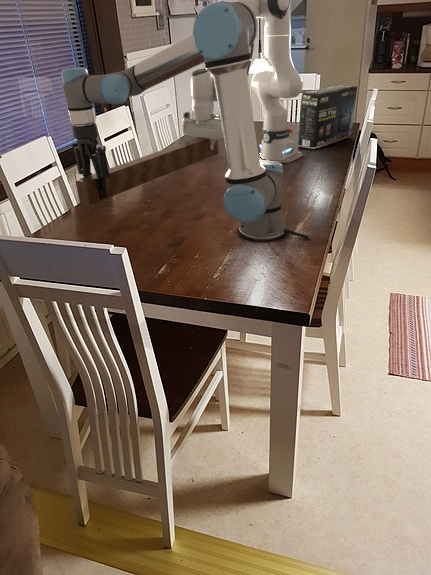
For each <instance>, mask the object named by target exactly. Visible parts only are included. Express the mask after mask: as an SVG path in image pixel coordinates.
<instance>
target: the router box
mask: <svg viewBox="0 0 431 575" xmlns="http://www.w3.org/2000/svg"><path fill="white" fill-rule="evenodd" d="M357 93H358V86H356V85H350V84H339V85H338V84H337V85H334V86H328V87H324V88H318V89H314V90H309V91H304V92H300V109H299V110H300V111H299V124H298V137H297V144H298V145H302V146H307V147H317V146H320V145H323V144H325V143H328V142H331V141H333V140H336V139H338V138H341V137H344V136H347V135H351V136H352V133H353V132H352V131H353V125H354V115H355V109H356V99H357ZM311 151H313V150H312V149H311Z"/></svg>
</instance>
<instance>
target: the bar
mask: <svg viewBox="0 0 431 575" xmlns="http://www.w3.org/2000/svg"><path fill="white" fill-rule="evenodd" d="M180 143H181V142H180ZM210 144H211V142H210V139H206V138H196V139H194V138H193V139H191V140H187V141H185V142H182V143H181V144H179V145H176V144H175V145H176V146H175V145H173V146H170V147H167V148H165V149H162V150H158V151H156V152H154V153H150V154H147V155H144V156H141V157H137V158H136V159H133V160H130V161H129V160H128V161H127V162H123V163H121V164H118V165H115V166H112V167H108V171H109V177H107V178H105V182H106V191H107V198H105V199H102V200H100V198H99V192H98V187H97V182H96V179H98V178H97V175H96V172H95V173H93V174H92V175H89V176H86V177H83V176H82V177H81V178H78V179H75V180H74V182H75V187H76V191H77V192H76V193H77V196H78V201H79V202H78V203H79V204H81V205H86V206H92V205H94V204H97V203H99V202H101V201H104V200H107V199H109V198H111V197H114V196H116V195H119V194H122V193H124V192H126V191H130V190H132V189H134V188H136V187H140V186H141V185H143V184H146V183H149V182H152V181H154V180H156V179H160V178H161V177H164V176H166V175H168V174H171V173H174V172H176V171H178V170H181V169H184V168H186V167H188V166H190V165H193V164H196V163H198V162H200V161H203V160H206V159H208V158H211V157H213V156H216V155H218V154H219V140H216V141H215V144H214V149H213V150H209V147H208V145H210ZM100 176H101V175H100Z"/></svg>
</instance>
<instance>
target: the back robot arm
mask: <svg viewBox="0 0 431 575" xmlns="http://www.w3.org/2000/svg"><path fill="white" fill-rule="evenodd" d="M233 2H240V3H243V4H245V5H247V6H248V7H249V8H250V9H251V10H252V11H253V12H254V14H255V16H256V19H257V20H258V19H264V33H263V34H264V36H263V37H264V38H263V39H264V42H263V44H264V45H263V49H264V50H263V52H264V57H265V59H266V60H267V61H269V63H270V65H271V67H272V69H263V70H259V71H256V72H255V73H254V74H253V76H252V78H251V84H250V85H251V89H252V91H253V92H254V94H255V95H256V97H257V98H258V99H259V102H260V105H261V108H262V125H263V126H262V131H261V137H262V139H261V144H259V148H260V153H259V154H260V155H259V154H258V155H259V160H262V159H266V160H284V159H285V158H287V157H289V156H291V155H293V154H295V153H297V152H298V153H302V152H301V151H299V147H298V141H297V142H296V140H294V139H293V138H292V137H291V136H290V134H292V133H293V132H294V129H293V127H292V128H290V127H289V128H288V110H287V108H286V107H285V106H284V105H283V104H282V102H281V99H294V98H297V97H299V95H301V93H302V90H303V88H304V87H303V86H304V82H303V78H302V76H301V74H299V72H298V71H297V69H296V67H295V66H294V63H293V60H292V56H291V53H292V52H291V32H292V31H291V16H290V11H289V10H290V8H289V7H290V3H291V0H234V1H233ZM254 48H255V41H254V42H253V44H252V45H251V46H250V53H251V61H250V63H249V65H248V66H247V69H246V70H247V77H248V78H249V74H250V68H251V65H252V59H253V55H254V54H253V53H254ZM189 84H190V96H191V97H190V98H191V102H192V103H191V109H189V110H187V111H184V112H183V113H182V114H181V116H182V133H183V135H184V136H185V137H190V138H191V137H192V138H193V139H196V138H206V139H210V142H211V144H210V145H208V147H209V150H213V149H214V144H215V141H216V140H218V141H224V136H223V131H222V125H221V119H220V115H217V114H215V104H214V103H218V101H217V96H216V90H215V84H214V78H213V75H212V74H211V73H210V72H208V71H207V70H206V68H205V67H204V68H199V69H196V70H194V71H193V72H192V73H191V76H190V83H189ZM303 156H304V153H303V154H302V155H300V156H298V157H296V158H294V159H292V160H290V159H287V160H290V161H276V162H279V163H285V164H287V163H291V162H293V161H295V160H297V159H299V158H301V157H303ZM260 157H261V158H262V159H261V158H260Z"/></svg>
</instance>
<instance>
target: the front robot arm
mask: <svg viewBox="0 0 431 575" xmlns="http://www.w3.org/2000/svg"><path fill="white" fill-rule="evenodd" d="M258 24H259V23H258V18H257V19H256V16H255V14H254V12H253V11H252V10H251V9H250V8H249V7H248V6H247V5H245V4H243V3H240V2H234V1H224V0H221V1H216V2H212V3H210V4H209V3H208V5H206V6H204V7H203V8H202V9H201V10H200V11H199V12H198V14H197V15H196V17H195V19H194V22H193V26H192V35H190V36H188V37H186V38H184V39H182V40H180V41H178V42H176V43H175V44H172V45H171V46H169V47H167V48H165V49H163V50H161V51H159V52H157V53H155V54H154V55H152V56H151V55H150V57H147V58H146V59H143V60H142V61H139V62H138V63H135V64H134V65H132V66H130V67H128V68H126V69H123V70H121V71H116V72H112V73H111V72H110V73H105V74H94V75H92V74H89V72H88V69H87V68H86V67H82V66H78V67H77V66H76V67H75V66H74V67H68V68H63V69H62V70H61V80H62V87H63V91H64V95H65V100H66V105H67V109H68V110H67V111H68V117H69V121H70V124H71V125H72V126H71V129H72V130H71V131H72V135H73V138H74V139H76V142H73V143H71V147H72V149H73V152H74V157H75V161H76V167H77V171H78V174H79V175H81V176H82V178H83V177H86V176H89V175H92V174H94V173H92V168H91V167H92V166H93V170H94V172H95V173H96V175H97V178H98V179H96V182H97V187H98V192H99V198H100V200H102V199H104V200H106V199H105V198H107V191H106V182H105V178H107V177H109V171H108V169H109V166H108V159H107V154H106V153H107V152H106V151H107V146H106V145H101V144H100V143H99V140H98V136H99V129H98V124H97V123H96V122H97V118H96V112H95V107H94V106H95V105H94V104H108V105H109V104H111V105H117V104H124V103H125V102H126V101H127V99H128V98H131V97H136V96H139V95H141V94H142V93H144V92H145V91H147V90H149V89H151V88H154V87H155V86H157V85H159V84H163V83H164V82H166V81H168V80H171V79H172V78H175V77H176V76H178V75H181V74H183V73H185V72H187V71H189V70H192V69H193V68H195V67H197V66H199V65H202V64H204V68H206V70H207V71H208V72H210V73H211V74H212V75H213V78H214V84H215V90H216V96H217V101H218V102H217V105H218V106H217V108H218V112H219V116H220V119H221V125H222V131H223V136H224V140H223V142H224V147H225V154H226V159H227V165H228V169H227V171H226V172H225V173H224V179H225V185H226V191H225V192H224V195H223V198H222V199H223V200H222V201H223V202H222V203H223V204H222V205H223V207H224V211H225V212H226V214H227V215H228V216H229V217H231V218H232V219H234V220H235V221H236V222H239V226H238V232H239V235H240V236H241V237H242V238H244V239H247V240H250V241H254V242H271V241H277V240H279V239H281V238H283V237H285V235H286V234H288V235H289V234H290V235H293V236H297V237H299V238H303V239H306V240H307V239H309V235H307V234H304V233H301V232H297V231H293V230H290V229H287V223H286V221H285V216H284V214H283V210H282V200H283V181H284V180H283V179H284V168H283V167H284V166H283V164H282V162H280V163H279V162H276V161H270V160H260V159H259V158H260V156H259V148H258V141H257V135H256V127H255V120H254V113H253V107H252V100H251V92H250V85H249V76H248V77H247V70H246V69H247V66H248V65H249V63H250V61H251V62H252V60H251V53H250V46H251V45H252V44H253V42H254V43H255V40H256V38H257V36H258V30H259V25H258ZM91 164H92V166H91ZM100 175H101V176H100ZM107 199H108V198H107ZM102 201H103V200H102Z"/></svg>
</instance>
